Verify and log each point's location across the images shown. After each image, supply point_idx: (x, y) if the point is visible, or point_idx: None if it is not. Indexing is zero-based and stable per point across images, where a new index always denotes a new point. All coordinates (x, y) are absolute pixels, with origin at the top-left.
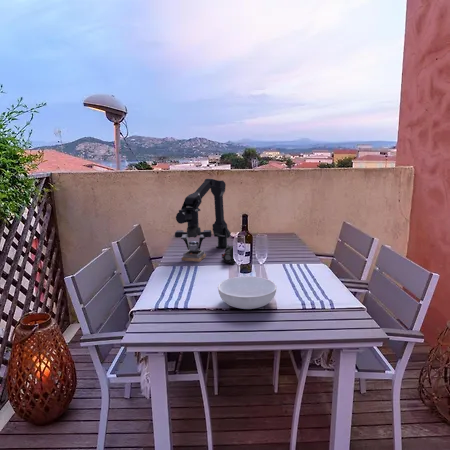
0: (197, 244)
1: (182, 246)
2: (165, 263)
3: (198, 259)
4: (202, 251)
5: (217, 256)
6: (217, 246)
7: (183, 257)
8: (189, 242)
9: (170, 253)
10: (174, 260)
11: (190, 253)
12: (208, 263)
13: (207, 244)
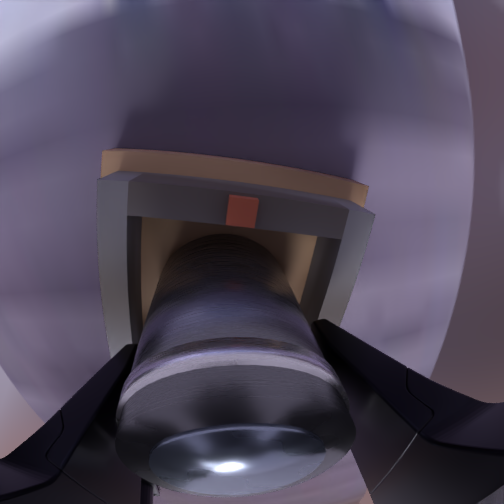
0: (119, 400)
1: (348, 463)
2: (461, 93)
3: (123, 150)
4: (114, 351)
5: (38, 344)
6: (147, 482)
7: (348, 196)
8: (342, 435)
9: (429, 361)
10: (417, 183)
11: (256, 204)
12: (24, 111)
13: (222, 497)
